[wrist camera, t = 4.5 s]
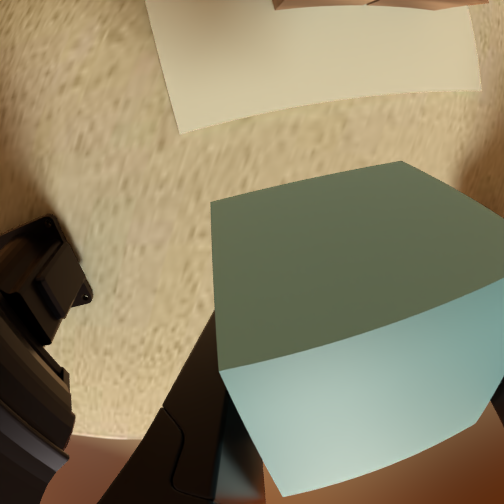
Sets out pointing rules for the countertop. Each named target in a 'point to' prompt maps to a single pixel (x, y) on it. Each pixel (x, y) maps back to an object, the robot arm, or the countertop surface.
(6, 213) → the countertop surface
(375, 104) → the countertop surface
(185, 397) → the robot arm
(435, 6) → the walnut corner block
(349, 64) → the build mat
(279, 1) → the walnut side block
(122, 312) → the countertop surface
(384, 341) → the teal block
